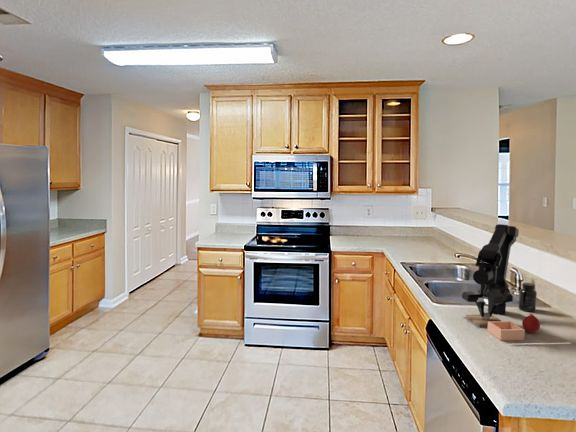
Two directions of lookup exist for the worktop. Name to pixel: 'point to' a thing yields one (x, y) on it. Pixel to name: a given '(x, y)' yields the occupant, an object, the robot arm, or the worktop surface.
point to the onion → (531, 323)
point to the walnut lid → (482, 319)
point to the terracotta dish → (505, 330)
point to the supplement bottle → (527, 297)
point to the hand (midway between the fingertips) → (485, 316)
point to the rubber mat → (473, 323)
